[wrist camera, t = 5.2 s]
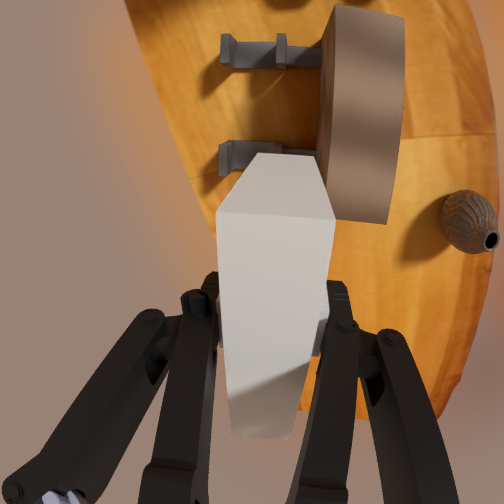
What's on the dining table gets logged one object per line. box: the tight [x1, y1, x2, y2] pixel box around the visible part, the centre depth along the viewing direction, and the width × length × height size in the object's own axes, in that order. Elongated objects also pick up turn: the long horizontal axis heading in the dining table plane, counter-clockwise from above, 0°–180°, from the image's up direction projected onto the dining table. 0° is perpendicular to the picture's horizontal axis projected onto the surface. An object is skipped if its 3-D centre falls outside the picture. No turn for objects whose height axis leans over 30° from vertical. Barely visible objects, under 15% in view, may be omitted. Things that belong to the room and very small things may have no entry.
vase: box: [440, 190, 500, 254], centre depth 25 cm, size 7×7×9 cm
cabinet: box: [219, 4, 405, 225], centre depth 22 cm, size 16×14×11 cm
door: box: [216, 153, 336, 440], centre depth 14 cm, size 12×4×9 cm, turn 179°
